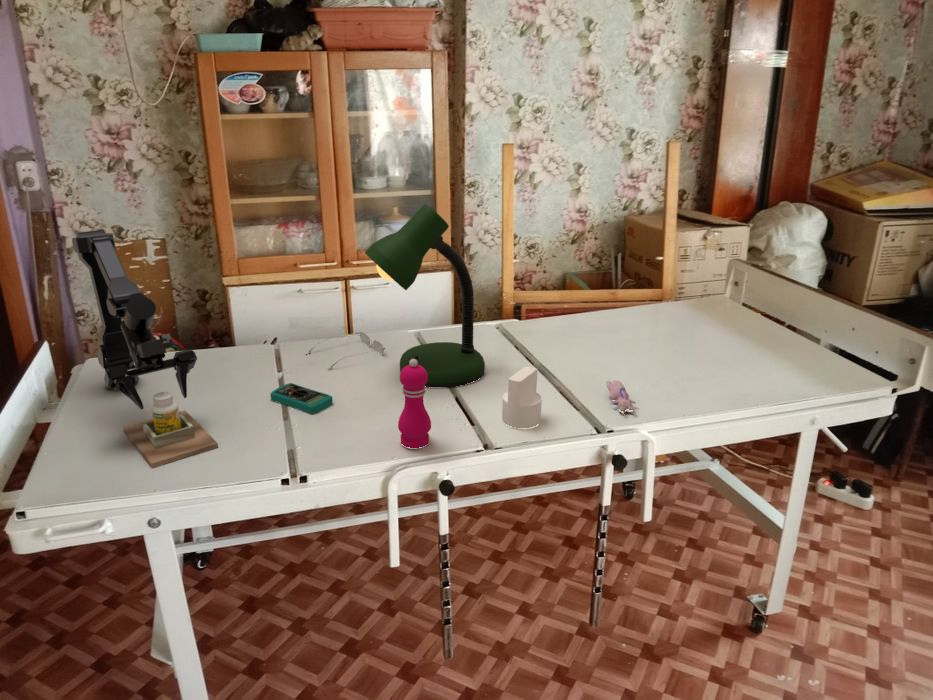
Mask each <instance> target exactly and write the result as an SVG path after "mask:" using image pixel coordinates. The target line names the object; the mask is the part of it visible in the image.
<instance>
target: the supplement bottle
mask: <svg viewBox="0 0 933 700" xmlns="http://www.w3.org/2000/svg"><path fill="white" fill-rule="evenodd" d="M152 401H153V403H154V404H153V405H152V406H151V412H152V413H151V414H152V419H153V420H154V426H155V431H156V436H158V435H161V434H165V433H168V432H172V431H175V430H179V429H182V428H181V422H180V416H179V412H180V411H179V410H180V409H179V405H178V402H176V401H175V400H174V395H173V393H172V392H171V391H170V392H169V391H160V392H157V393H155V394H154V395H153V396H152Z"/></svg>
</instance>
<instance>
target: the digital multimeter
mask: <svg viewBox="0 0 933 700" xmlns="http://www.w3.org/2000/svg"><path fill="white" fill-rule="evenodd" d="M272 400H274V401H273V402H275V401H278V402H280V403H279V404H281V405H285V406H287V407H291V406H292V407H291V408H294V407H295V408H294V409H296V408H298V409H297V410H299V409H301V410H300V411H302V410H303V412H305V413H307V412H308V414H310V415H314V413H315V414H317V413H319V412H321V411H323V410H324V409H327V408H329V406H331V405H333V401H334V400H333V396H332V395H330V394H329V393H328V394H327V393H324V392H320V391H317V390H314V389H310V388H307V387H305V386H301V385H298V384H295V383H293V382H290V383H286V384H283V385H281V386H279V387H278V388H275V389H274V390H273V391H271V392H270V401H272ZM278 402H277V403H278Z"/></svg>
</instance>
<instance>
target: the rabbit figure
mask: <svg viewBox="0 0 933 700" xmlns="http://www.w3.org/2000/svg"><path fill="white" fill-rule="evenodd" d="M605 384H606V389H608V391H609V394H608V398H609V400H610V401H611V400H615V401H611V403H610V405H611V406H612V405H614V404H618V406H617V407H618V408H619V409H620V410H621V411H623V412H624V413H625V414H626V412H625V410H626V409H629V410H633V411H634V412H635V407H634V405H633V404H636V403H637V401H635V400H631V399H629V398H630V395H629V393H628V392H627V390H626V387H625V386H624V384H623V383H622V382H621V381H619V380H612V381H610V380H606V381H605ZM618 408H617V409H618ZM619 409H618V410H619Z"/></svg>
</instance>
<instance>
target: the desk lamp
mask: <svg viewBox="0 0 933 700" xmlns="http://www.w3.org/2000/svg"><path fill="white" fill-rule="evenodd" d="M449 227H450V225H449V224H448V223H447V221H446V220H445V219H444V218H443V217H442V216H441V215H440V214H439V213H438V212H437V211H436V210H435V209H433V208H432V207H431V206H430V205H429V204H427V203H426V204H425V203H424V204H422V205H421V207H420V208H419V209H418V210H417V211H416V212H415V213H414V214H413V216H412V217H410V219H409V220H408V221H407V222H406V223H404V224H403V226H402V227H400V229H398V230H397V231H395V232H393V233H391V234H388V235H385V236H384V237H382V238H379V240H376V241H375V242H373V243H372V244H371V245H370V246H369V247H368V248H366V250H365V251H364V254H365V255H366V256H367V257H368V258H369V259H370V260H371V261H372V262H373V263H375V265H376V271H377V273H378V275H379V276H380V277H381V278H382V279H385V280H387V281H394V282H395V283H397V284H398V285H399V286H400V287H401V288H402V289H404V290H405V291H407V290H408V289H410V287H411V286H412V285H413V284H414V283H415V281H416V279H417V277H418V275H419V272H420V271H421V268H422V264H423V260H424V257H425V256H426V254H427V253H428V252H429V251H430V249H432V250H436V251H437V252H438V253H439V254H440V255H441V256H443V257H444V258H445V259H447V261H448V262H449V264H451V265H452V267H453V268H454V271H455V273H456V276H457V279H458V280H459V285H460V289H461V299H462V301H461V305H462V306H461V307H462V310H461V311H462V312H461V313H462V315H461V316H462V317H461V327H462V328H461V343H457V342H452V341H451V342H447V341H446V342H445V341H439V342H437V341H436V342H430V343H424V344H423V343H422V344H419V345H416V346H413V347H410V348H408V349H407V350H405V352H403V353H402V354H401V357H400V359H399V374H400V373H401V371H402V369H403V368H404V367H406V366H408V365H410V364H409V362H410V360H411V359H416V360H417V362H418V364H417V365H420V366H422V367H423V368H424V369H425V370H426V371H427V374H428V380H427V383H426V384H425V386H426V388H429V387H447V388H446V389H449V388H450V389H451V388H457V387H456V386H458V387H461V386H460V385H464V386H466V385H465V384H467V383H471V382H473V381H476V380H478V379H479V378H481V377H482V376H484V375H485V371H486V370H485V369H486V368H485V367H486V365H485V360H484V357H483V355H482V354H481V353H480V352H479V351H478V350H477V349H475V345H474V312H475V311H474V310H475V309H474V307H475V304H474V303H475V299H474V297H475V296H474V288H473V287H474V286H473V282H472V279H471V275H470V271H469V270H468V268H467V267H468V266H467V265H466V263H465V260H464V258H462V257H461V254H459V253H458V252H457V250H455V249H454V248H453V246H450V245H449V243H447V242H445V241H444V237H443V234H444V233H445V232H446V231H447V230H448V229H449ZM482 378H483V377H482ZM482 378H481V379H482ZM479 380H480V379H479ZM479 380H478V381H479ZM476 382H477V381H476ZM473 383H474V382H473ZM471 384H472V383H471ZM467 385H468V384H467Z"/></svg>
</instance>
